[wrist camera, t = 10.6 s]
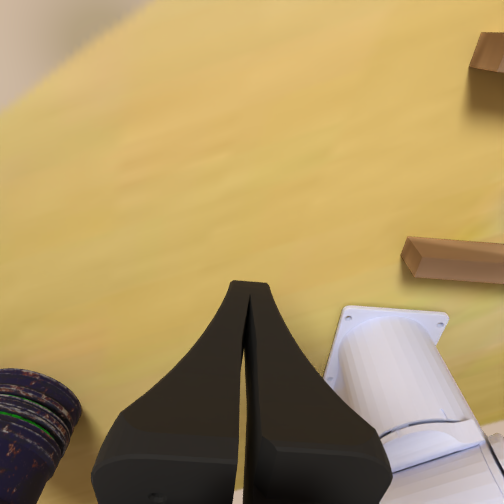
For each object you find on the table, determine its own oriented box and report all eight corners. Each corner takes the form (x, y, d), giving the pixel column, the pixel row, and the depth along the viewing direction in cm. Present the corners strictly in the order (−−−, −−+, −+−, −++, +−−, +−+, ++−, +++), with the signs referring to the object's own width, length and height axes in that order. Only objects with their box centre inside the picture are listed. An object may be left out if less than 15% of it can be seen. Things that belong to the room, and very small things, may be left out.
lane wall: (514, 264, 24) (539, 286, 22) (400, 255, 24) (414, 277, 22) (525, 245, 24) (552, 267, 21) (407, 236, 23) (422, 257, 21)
